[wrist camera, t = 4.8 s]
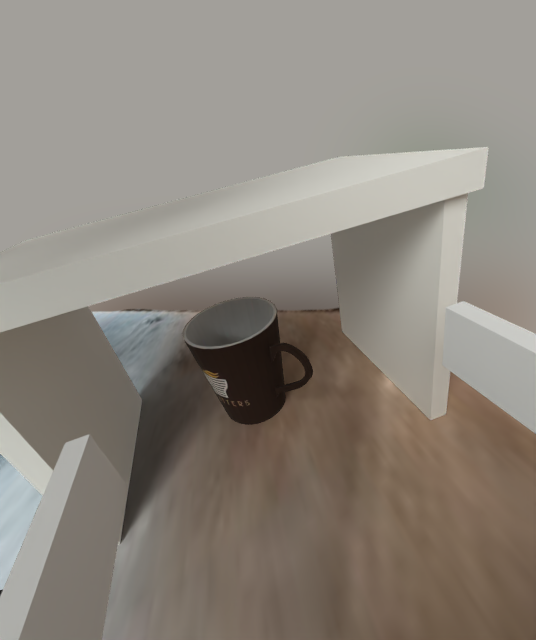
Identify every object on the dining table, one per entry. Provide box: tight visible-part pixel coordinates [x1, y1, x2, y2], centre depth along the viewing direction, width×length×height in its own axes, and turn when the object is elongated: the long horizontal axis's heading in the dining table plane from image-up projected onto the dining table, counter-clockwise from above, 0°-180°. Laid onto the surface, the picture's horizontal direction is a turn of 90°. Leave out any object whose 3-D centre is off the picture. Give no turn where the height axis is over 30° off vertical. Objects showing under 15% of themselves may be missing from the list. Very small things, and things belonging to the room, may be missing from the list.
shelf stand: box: [0, 147, 488, 544], centre depth 26 cm, size 17×30×20 cm, turn 105°
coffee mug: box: [183, 297, 313, 424], centre depth 29 cm, size 12×9×10 cm
